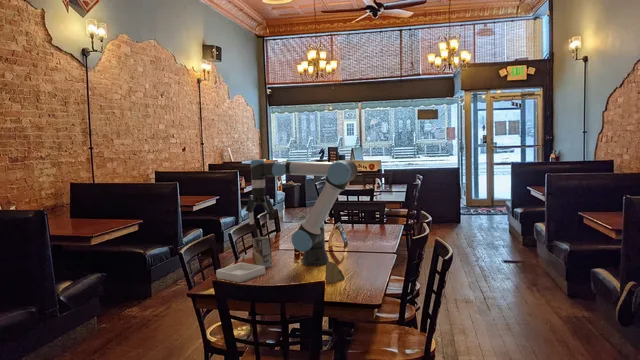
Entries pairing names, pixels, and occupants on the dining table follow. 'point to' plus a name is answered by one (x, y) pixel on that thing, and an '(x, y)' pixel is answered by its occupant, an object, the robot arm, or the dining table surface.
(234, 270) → the tray
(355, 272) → the dining table surface
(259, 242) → the coffee box
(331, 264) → the rock
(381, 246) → the dining table surface
